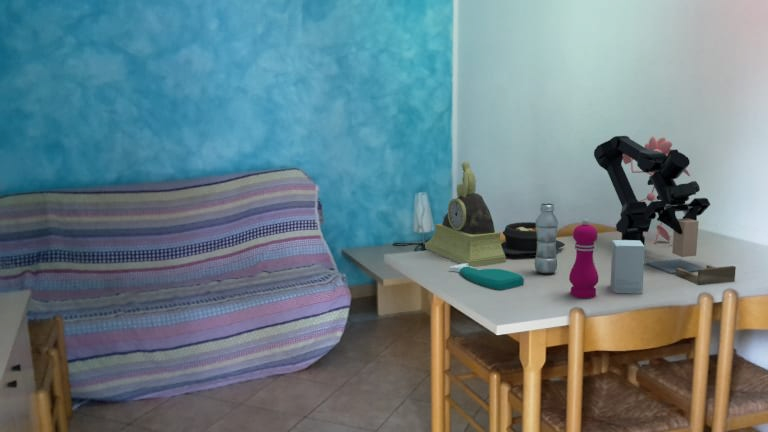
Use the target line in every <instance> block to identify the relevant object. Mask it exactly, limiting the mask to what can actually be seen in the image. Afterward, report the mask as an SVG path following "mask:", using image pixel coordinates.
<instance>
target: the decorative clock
mask: <svg viewBox="0 0 768 432" xmlns="http://www.w3.org/2000/svg"><path fill="white" fill-rule="evenodd" d="M461 168H462V171H463V172H462V178H461V180H462V181H461V182H462V183H458V184H456V195H457V197H455V198H452V199H451V200H450V201H449V202H448V207H447V213H446V214H445V216H444V217H443V221H442V223H435V231H434V234H433V236H432V237H431V238H430V239H429V240H428V241H427V242H425V243H424V246H425V247H424V248H425V250H428V251H430V252H432V253H434V254H437V255H439V256H441V257H444V258H446V259H448V260H451V261H454V262H456V263H458V264H465V263H468V264H469V266H470V267H476V268H477V267H478V268H479V267H483V266H485V267H486V266H491V265H498V264H504V263H507V256H506V253H504V252H503V249H502V246H501V243H502V241H501V232H499V231H496V229H495V226H494V221H493V217H492V214H491V211H490V209H489V208H488V205H487V204H486V202H485V201H484V198H483V196H482V195H480V194H479V193H476V191H477V190H476V187H477V186H476V176H475V173H474V172H473V170H472V169H471V165H470V162H468V161H466V160H465V161H464V162H462V163H461Z"/></svg>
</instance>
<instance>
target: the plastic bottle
mask: <svg viewBox="0 0 768 432" xmlns="http://www.w3.org/2000/svg"><path fill="white" fill-rule="evenodd" d="M554 206H555V204H554V203H550V202H547V203H546V202H544V203H543V202H542V203H541V204H540V209H539V211H540V214H539V215H538V216H537V218H536V219H535V222H534V223H535V224H536V233H537V251H536V255H535V259H534V263H533V265H534V269H535V270H536V272H537V273H541V274H553V273H555V272H556V270H557V269H558V268H557V267H558V257H557V250H556V240H557V234H558V228H559V220H558V219H557V217H556V215H555V213H554V211H555V208H554Z"/></svg>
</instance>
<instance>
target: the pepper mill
mask: <svg viewBox="0 0 768 432" xmlns="http://www.w3.org/2000/svg"><path fill="white" fill-rule="evenodd" d="M581 223H582V224H579V225H577V226H576V227H575V228H574V229H573V231H572V232H573V233H572V239H574V240H575V243H574V250H576V251H575V252H576V255H575V260H574V263H573V265H572V268H571V270H570V273H569V278H568V279H569V282H570V284H571V285H572V286H571V287H570V295H571V296H572V297H573V298H574V297H575V298H577V299H592V298H595V297H596V296H597V288H596V287H595V286H597V284H598V283H599V273H598V270H597V268H596V266H595V263H594V251H595V250H596V244H595V242H596V241H597V239H598V230H597V229H596V227H595V226H593V225H590V220H589V219H588V218H583V219H582V220H581ZM574 240H573V241H574Z"/></svg>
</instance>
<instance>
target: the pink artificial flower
mask: <svg viewBox="0 0 768 432" xmlns="http://www.w3.org/2000/svg"><path fill="white" fill-rule="evenodd" d="M672 145H673V143H672V141H670V140H666V137H664V136H663V137H660V138H659V139H658V140H657V139H656V138H655V136H651V137H650V138H649V140H648V143H645V144H644V148H646V149H648V150H652V151H658V152H662V153H664V154H666V156H667V155H668V154H669V152H670V150H672V149H671V148H672ZM633 161H634V159H632V158H631V157H629V156H628V155H626V154H623V159H622V162H623V164H624V165H628V164H630V169H631V173H632V174H633V173H634V174H635V173H639V174H641V173H644V172H643V171H642V170H634V164H633ZM654 173H655V172H646V173H645V174H648V175H649V176H652V175H653V174H654ZM683 173H684V174H686V175H687V176H688V177H690V176H691V174H690V172H689V171H688V170H687V168H686V169H685V170H684V171H683ZM654 190H655V187H654V186H653V187H652V190H651V193H648V194H647V195H646V197H645V198H643V199H641V200H638V201H639V202H645V201H646V200H647V201H648V202H651V201H658V200H657V198H656V195H655V194H654ZM656 230H657V233H656V234H655V235H656V236H655V239H654V241H653V244H656V243H657V241H658V237H659V235H660V236H661V237H662V238H664V239H665V241H668V242H670V241H671V238H673V236H671V235H670V234H669V232H668V230H667V229H666V228H665V227H664V226H662V222H661V221H660V224H657V226H656ZM647 234H650V235H654V232H653V233H652V232H647ZM669 247H673V244H672V245H669Z"/></svg>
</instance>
